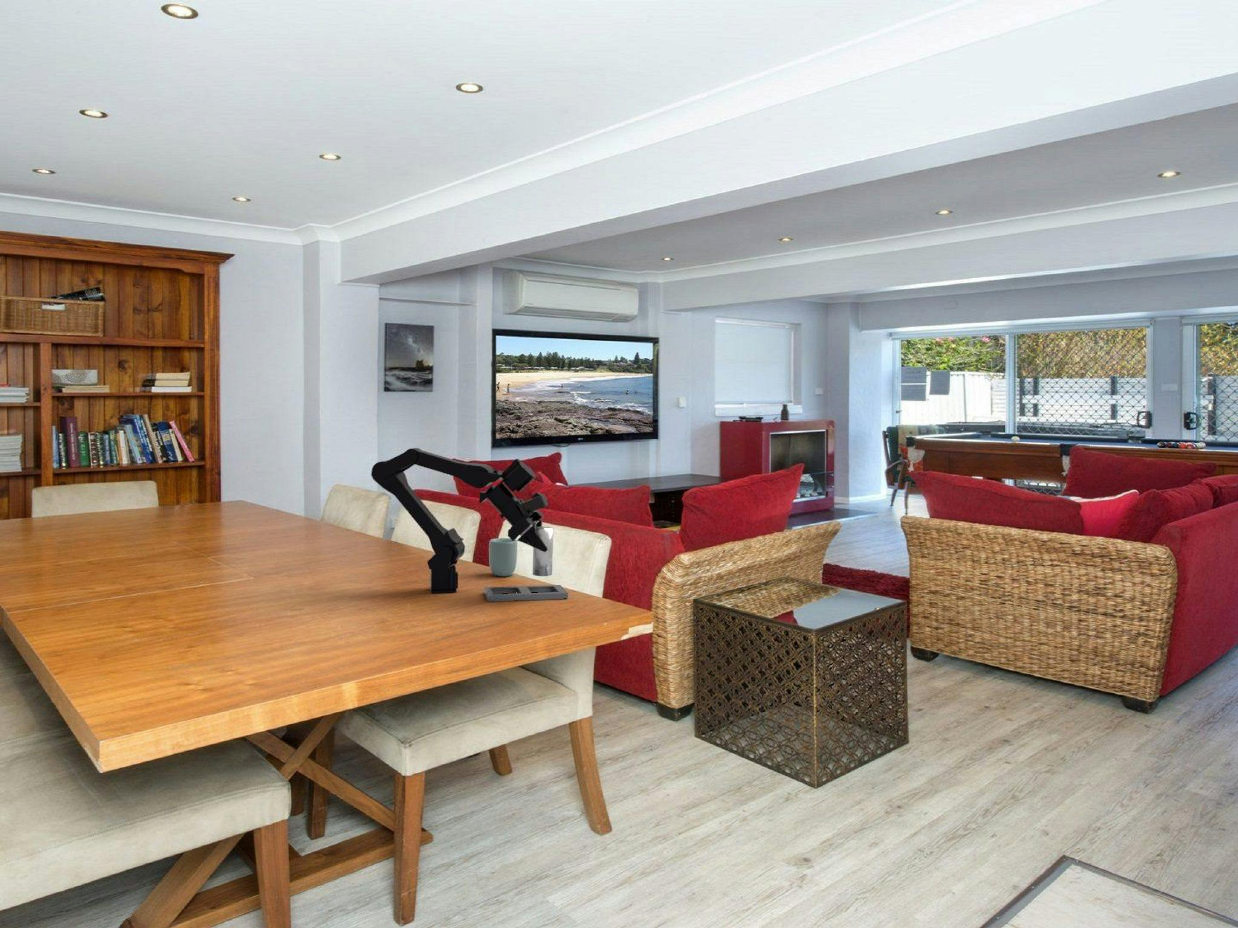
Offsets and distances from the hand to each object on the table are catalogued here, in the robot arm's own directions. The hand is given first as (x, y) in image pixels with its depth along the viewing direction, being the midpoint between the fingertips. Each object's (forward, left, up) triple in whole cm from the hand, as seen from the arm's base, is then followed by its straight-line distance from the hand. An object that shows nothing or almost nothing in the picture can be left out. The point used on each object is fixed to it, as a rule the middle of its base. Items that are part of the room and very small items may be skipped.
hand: (548, 549), depth 228 cm
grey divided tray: (-6, 0, -12) cm, 13 cm away
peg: (-1, 0, -7) cm, 7 cm away
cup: (-8, +28, -12) cm, 31 cm away
